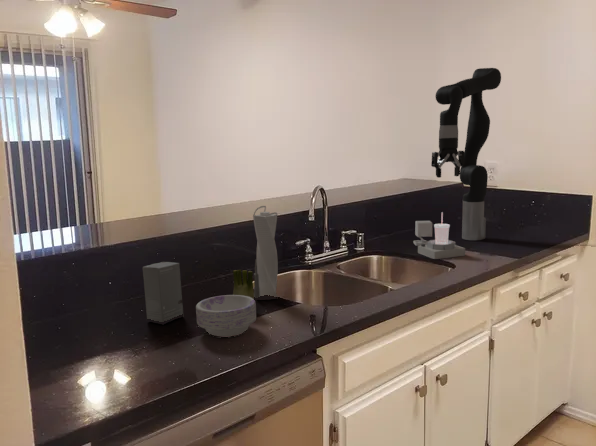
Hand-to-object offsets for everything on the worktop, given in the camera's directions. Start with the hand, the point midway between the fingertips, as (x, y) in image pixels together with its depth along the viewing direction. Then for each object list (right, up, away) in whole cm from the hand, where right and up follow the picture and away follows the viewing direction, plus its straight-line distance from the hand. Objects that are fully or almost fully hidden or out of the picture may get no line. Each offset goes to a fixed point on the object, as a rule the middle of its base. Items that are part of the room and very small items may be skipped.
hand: (447, 176), depth 225 cm
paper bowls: (-80, -47, -83) cm, 125 cm away
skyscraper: (-71, -42, -54) cm, 99 cm away
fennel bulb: (-77, -44, -67) cm, 111 cm away
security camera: (-7, -28, +15) cm, 33 cm away
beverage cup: (-4, -29, -5) cm, 29 cm away
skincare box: (-98, -46, -73) cm, 131 cm away
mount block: (-4, -32, -5) cm, 32 cm away
